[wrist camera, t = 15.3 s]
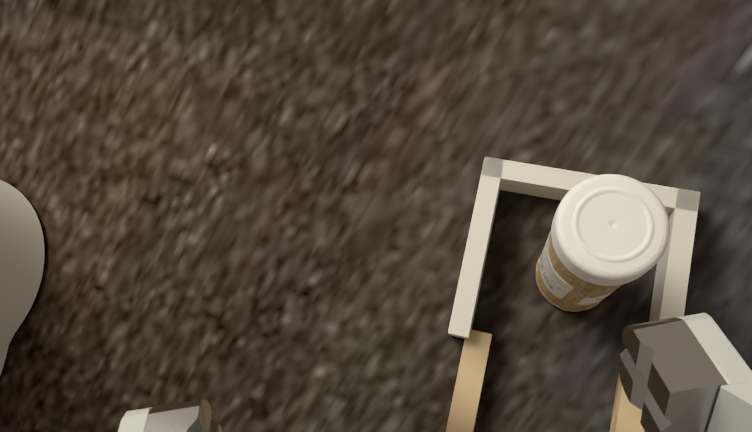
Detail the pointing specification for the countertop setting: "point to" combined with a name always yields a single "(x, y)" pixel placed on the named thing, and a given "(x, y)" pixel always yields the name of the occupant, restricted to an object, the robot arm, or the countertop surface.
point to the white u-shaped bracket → (555, 186)
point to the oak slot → (470, 381)
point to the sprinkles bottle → (601, 241)
